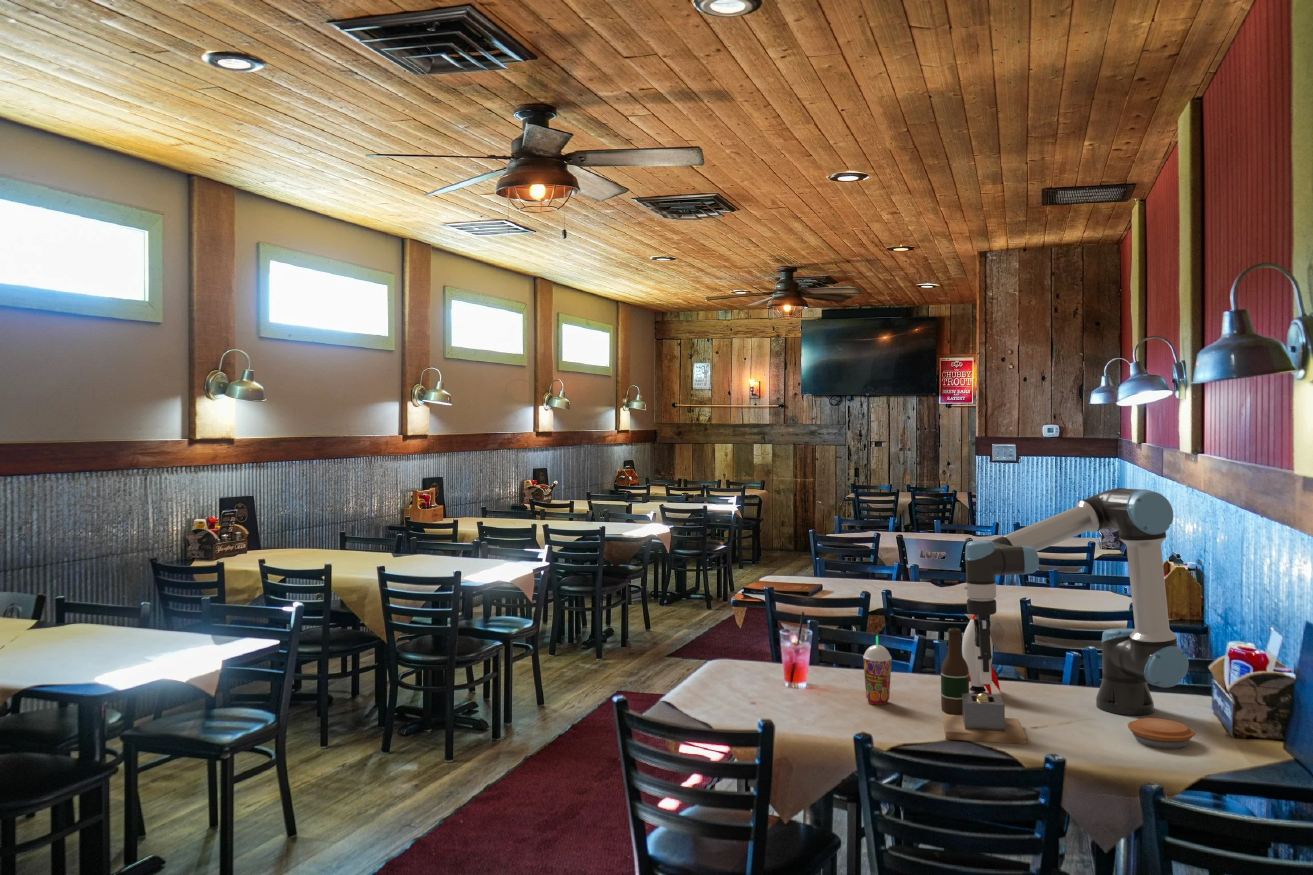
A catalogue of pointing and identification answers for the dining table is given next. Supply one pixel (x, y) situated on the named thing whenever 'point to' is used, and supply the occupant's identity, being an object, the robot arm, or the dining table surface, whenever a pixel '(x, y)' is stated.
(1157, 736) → the pie
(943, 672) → the beer bottle
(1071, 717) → the dining table surface
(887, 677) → the smoothie
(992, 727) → the grey square socket block
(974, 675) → the rocket
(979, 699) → the post
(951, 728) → the board
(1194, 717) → the dining table surface
